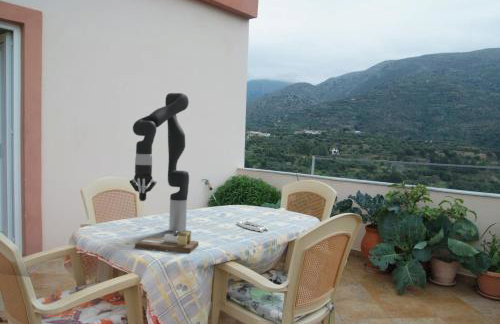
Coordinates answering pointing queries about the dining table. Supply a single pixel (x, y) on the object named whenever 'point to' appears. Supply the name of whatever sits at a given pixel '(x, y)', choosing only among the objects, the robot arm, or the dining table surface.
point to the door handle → (252, 227)
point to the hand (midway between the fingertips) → (142, 200)
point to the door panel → (165, 245)
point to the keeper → (184, 238)
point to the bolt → (171, 237)
